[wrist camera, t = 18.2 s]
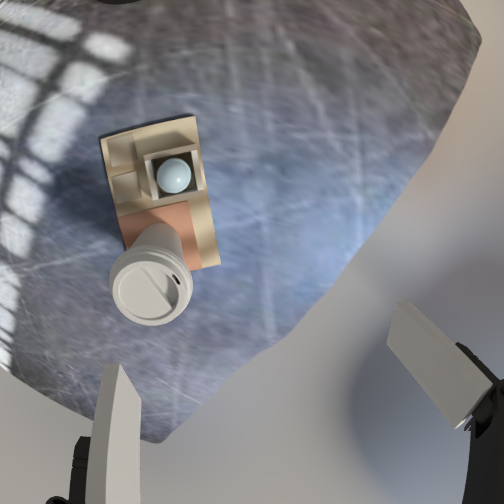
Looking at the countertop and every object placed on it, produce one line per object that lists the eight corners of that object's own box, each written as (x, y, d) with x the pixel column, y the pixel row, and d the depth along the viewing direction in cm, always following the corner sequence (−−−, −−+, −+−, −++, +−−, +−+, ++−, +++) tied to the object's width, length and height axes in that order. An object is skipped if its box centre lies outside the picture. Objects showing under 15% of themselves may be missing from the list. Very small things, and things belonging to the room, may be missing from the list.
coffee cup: (195, 266, 44) (200, 325, 30) (137, 275, 42) (121, 335, 29) (185, 207, 40) (184, 245, 26) (123, 218, 38) (93, 261, 25)
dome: (156, 161, 35) (152, 164, 31) (187, 154, 36) (187, 156, 32) (162, 192, 37) (159, 199, 33) (193, 185, 38) (193, 191, 33)
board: (102, 139, 34) (93, 139, 30) (194, 116, 36) (195, 113, 32) (138, 279, 43) (134, 291, 40) (220, 261, 45) (223, 273, 42)
